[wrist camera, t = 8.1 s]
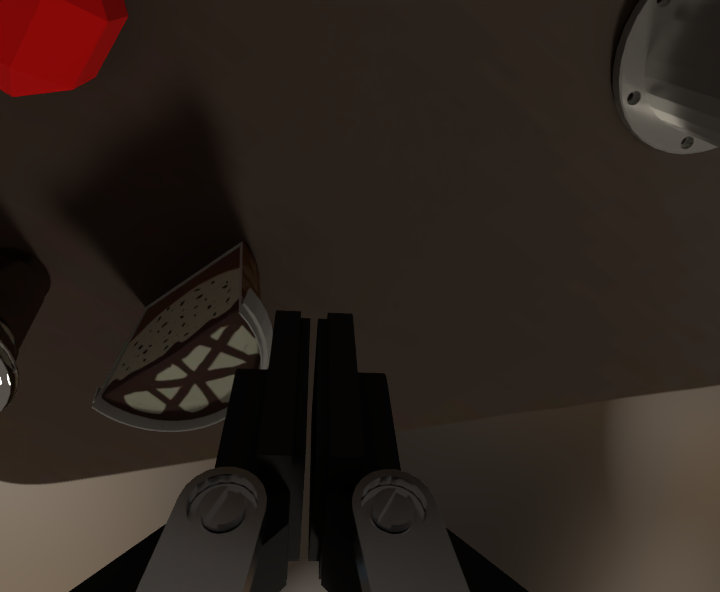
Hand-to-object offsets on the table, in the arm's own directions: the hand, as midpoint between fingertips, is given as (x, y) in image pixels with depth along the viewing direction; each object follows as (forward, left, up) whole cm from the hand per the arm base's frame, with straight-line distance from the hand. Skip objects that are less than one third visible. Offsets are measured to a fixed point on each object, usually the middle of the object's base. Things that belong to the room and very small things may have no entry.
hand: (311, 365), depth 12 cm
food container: (+13, +9, -25) cm, 30 cm away
